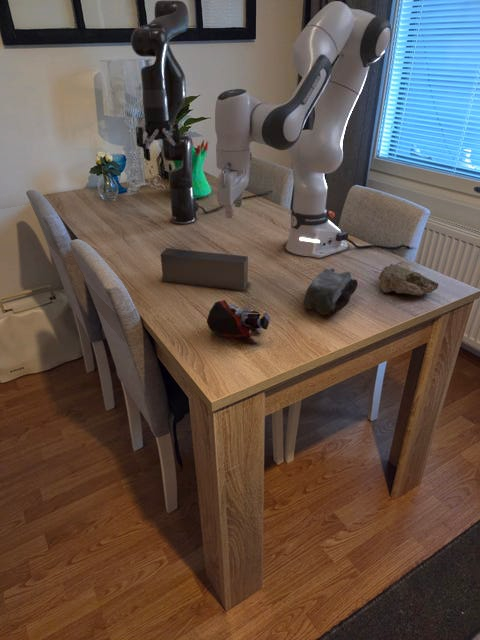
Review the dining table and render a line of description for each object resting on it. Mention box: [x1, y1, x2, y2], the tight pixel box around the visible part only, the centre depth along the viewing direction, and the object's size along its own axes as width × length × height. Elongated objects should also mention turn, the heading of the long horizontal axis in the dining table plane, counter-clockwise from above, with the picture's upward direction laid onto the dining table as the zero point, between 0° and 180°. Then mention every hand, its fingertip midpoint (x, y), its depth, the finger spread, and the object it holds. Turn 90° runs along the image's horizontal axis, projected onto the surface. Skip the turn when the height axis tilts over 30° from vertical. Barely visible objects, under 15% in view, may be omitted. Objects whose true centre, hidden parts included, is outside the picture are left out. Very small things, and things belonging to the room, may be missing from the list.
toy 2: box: [206, 299, 271, 345], centre depth 109 cm, size 12×9×15 cm
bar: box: [160, 247, 249, 292], centre depth 135 cm, size 26×5×9 cm, turn 76°
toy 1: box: [168, 137, 212, 200], centre depth 210 cm, size 20×20×25 cm
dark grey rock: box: [302, 268, 359, 317], centre depth 123 cm, size 18×11×8 cm, turn 152°
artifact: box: [378, 261, 439, 296], centre depth 132 cm, size 18×7×15 cm
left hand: (160, 158), depth 147 cm, fingers open, 8 cm apart
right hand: (234, 211), depth 123 cm, fingers open, 8 cm apart
